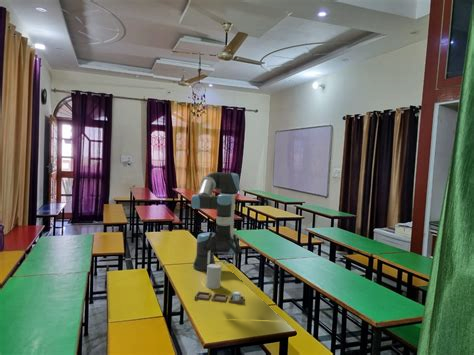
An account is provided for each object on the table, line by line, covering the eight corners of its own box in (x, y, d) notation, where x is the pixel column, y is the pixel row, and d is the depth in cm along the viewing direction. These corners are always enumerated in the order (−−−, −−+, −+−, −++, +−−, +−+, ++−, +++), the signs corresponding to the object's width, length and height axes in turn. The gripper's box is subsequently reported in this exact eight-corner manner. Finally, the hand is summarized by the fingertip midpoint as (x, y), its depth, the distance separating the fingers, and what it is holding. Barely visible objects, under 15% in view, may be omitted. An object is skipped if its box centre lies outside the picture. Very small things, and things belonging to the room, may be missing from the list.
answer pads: (201, 287, 193) (201, 287, 193) (247, 292, 189) (247, 291, 189) (198, 292, 185) (198, 292, 185) (245, 298, 181) (245, 297, 181)
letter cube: (232, 298, 178) (233, 290, 178) (240, 298, 179) (240, 291, 178) (232, 302, 174) (233, 294, 174) (240, 302, 174) (241, 294, 174)
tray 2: (214, 296, 182) (214, 293, 182) (227, 297, 181) (227, 294, 181) (211, 301, 175) (211, 298, 175) (225, 303, 174) (225, 300, 174)
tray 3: (230, 298, 181) (230, 295, 181) (244, 299, 180) (244, 296, 180) (228, 303, 174) (228, 300, 173) (242, 305, 173) (242, 302, 172)
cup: (218, 289, 190) (219, 268, 190) (204, 288, 191) (205, 266, 191) (221, 285, 198) (222, 264, 198) (208, 283, 199) (209, 263, 199)
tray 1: (198, 294, 183) (198, 291, 183) (211, 295, 182) (211, 292, 182) (194, 299, 176) (194, 296, 176) (207, 301, 175) (208, 298, 175)
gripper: (198, 223, 174) (196, 264, 175) (246, 227, 170) (244, 269, 171) (201, 221, 181) (199, 260, 182) (248, 224, 178) (245, 264, 179)
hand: (221, 264), depth 177 cm, fingers open, 13 cm apart
